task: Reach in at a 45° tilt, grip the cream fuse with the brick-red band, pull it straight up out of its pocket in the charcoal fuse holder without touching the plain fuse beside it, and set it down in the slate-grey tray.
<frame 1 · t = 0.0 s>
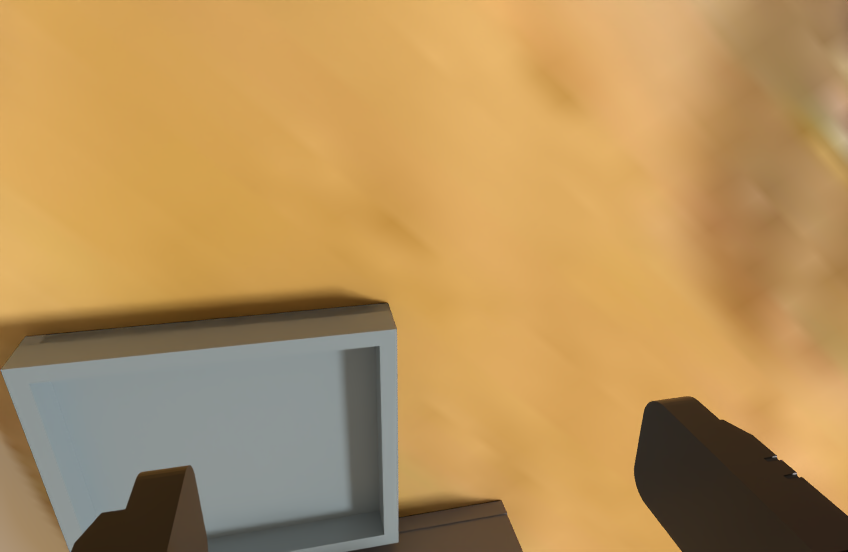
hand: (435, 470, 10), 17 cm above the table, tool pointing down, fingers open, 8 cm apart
tray: (237, 435, 30), on the table
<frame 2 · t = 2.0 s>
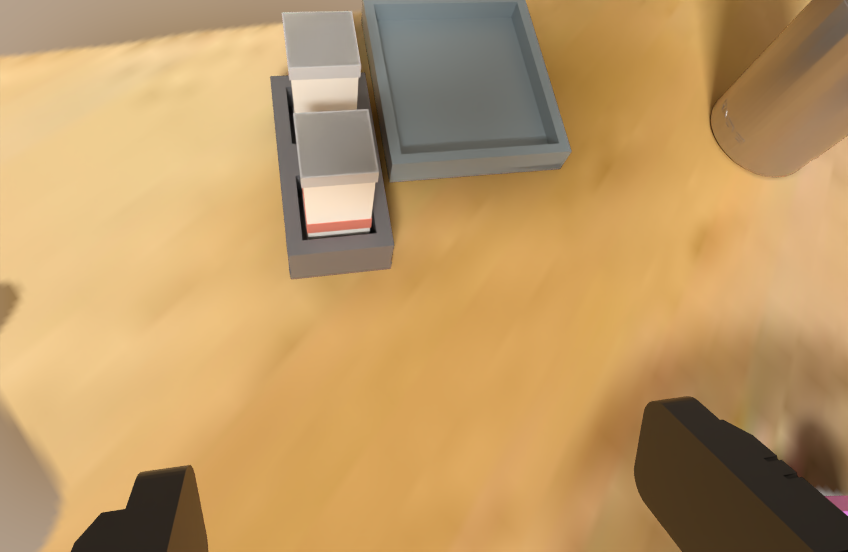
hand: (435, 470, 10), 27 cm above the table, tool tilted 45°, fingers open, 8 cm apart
fuse holder: (330, 187, 43), on the table
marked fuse: (335, 224, 41), point 1 cm above the table, touching fuse holder
tray: (457, 92, 48), on the table
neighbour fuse: (324, 138, 43), point 1 cm above the table, touching fuse holder
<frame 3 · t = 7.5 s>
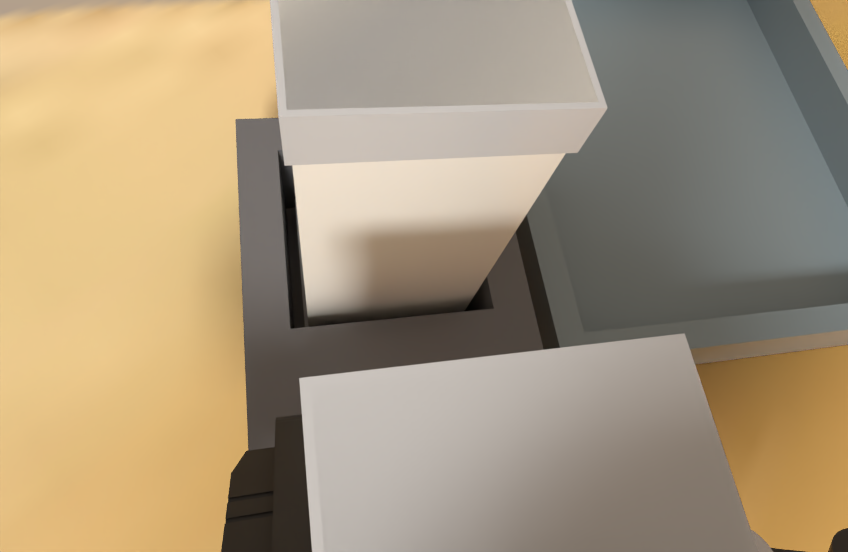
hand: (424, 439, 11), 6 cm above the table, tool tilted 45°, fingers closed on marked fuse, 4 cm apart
fuse holder: (386, 404, 17), on the table
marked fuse: (409, 543, 14), point 1 cm above the table, touching fuse holder, gripper
tray: (659, 154, 22), on the table
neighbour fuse: (373, 274, 17), point 1 cm above the table, touching fuse holder
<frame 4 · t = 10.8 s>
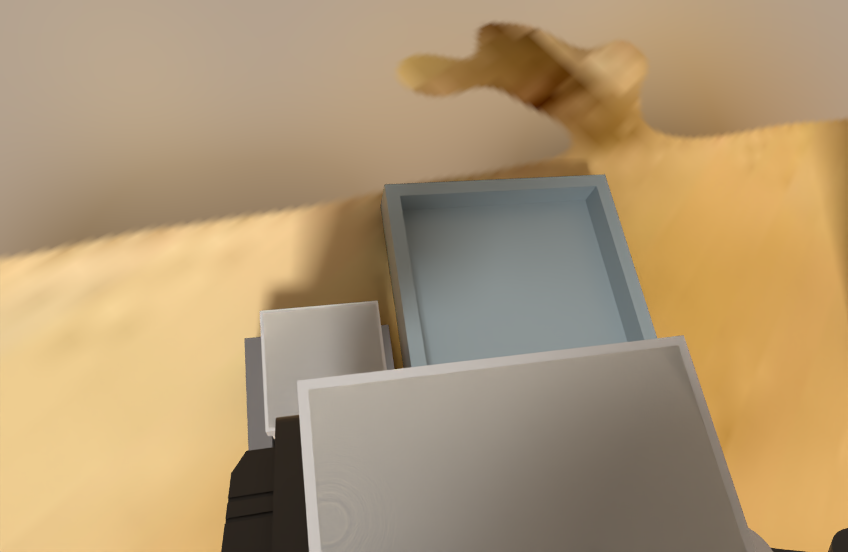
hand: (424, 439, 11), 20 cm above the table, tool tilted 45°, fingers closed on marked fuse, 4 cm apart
fuse holder: (330, 491, 28), on the table
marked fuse: (409, 544, 14), point 15 cm above the table, touching gripper
tray: (514, 317, 34), on the table
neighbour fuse: (324, 413, 29), point 1 cm above the table, touching fuse holder
when the fingers open (7 cm above the table, at t = 14.6 s): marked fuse drops 1 cm, resting on tray.
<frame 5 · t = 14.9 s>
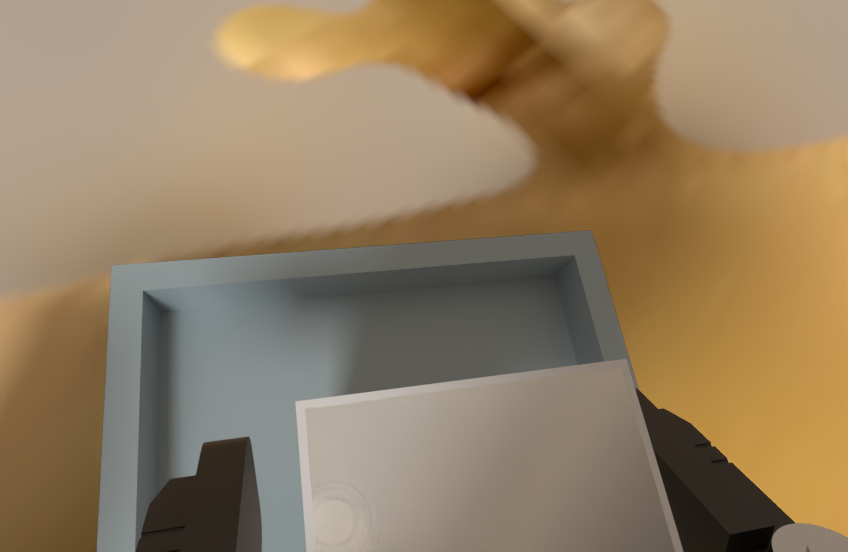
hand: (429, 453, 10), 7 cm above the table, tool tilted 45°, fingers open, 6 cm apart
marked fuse: (403, 540, 15), point 1 cm above the table, touching tray
tray: (399, 541, 16), on the table
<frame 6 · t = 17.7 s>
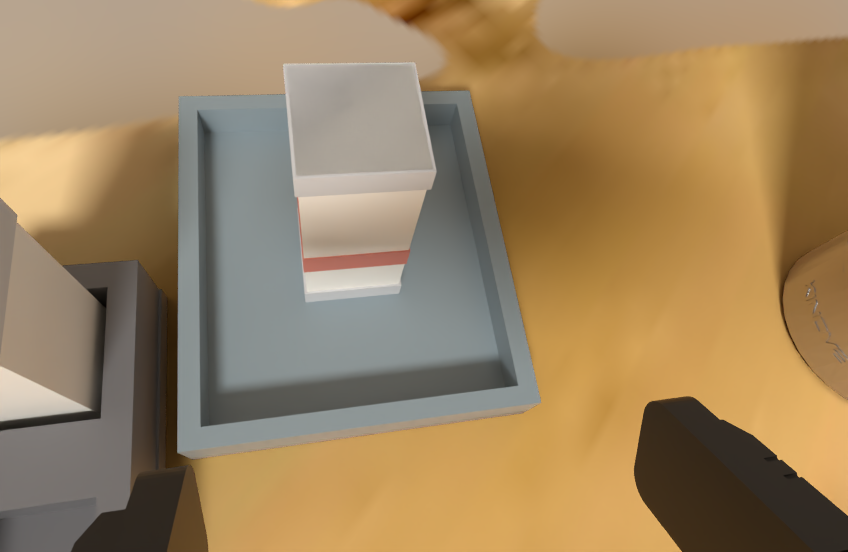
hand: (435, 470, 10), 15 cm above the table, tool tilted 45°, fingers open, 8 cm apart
fuse holder: (68, 476, 22), on the table
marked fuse: (347, 255, 27), point 1 cm above the table, touching tray
tray: (347, 263, 27), on the table
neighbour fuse: (64, 377, 22), point 1 cm above the table, touching fuse holder
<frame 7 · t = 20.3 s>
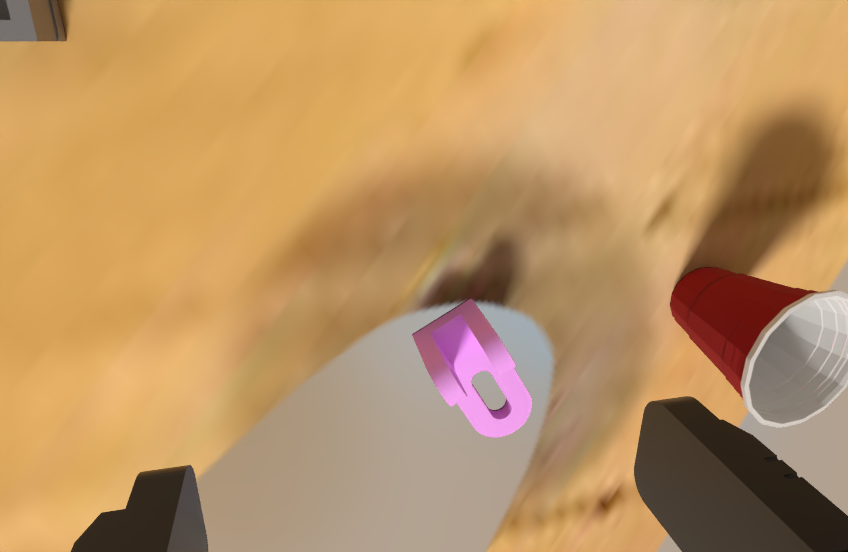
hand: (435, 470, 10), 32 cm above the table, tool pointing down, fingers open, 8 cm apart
plastic cup: (699, 294, 51), on the table
bracket: (476, 370, 49), on the table
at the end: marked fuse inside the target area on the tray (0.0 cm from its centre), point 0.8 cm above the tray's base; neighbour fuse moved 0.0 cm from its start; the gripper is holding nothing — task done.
